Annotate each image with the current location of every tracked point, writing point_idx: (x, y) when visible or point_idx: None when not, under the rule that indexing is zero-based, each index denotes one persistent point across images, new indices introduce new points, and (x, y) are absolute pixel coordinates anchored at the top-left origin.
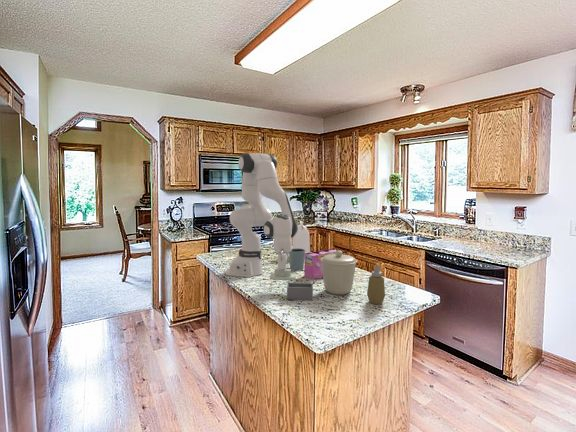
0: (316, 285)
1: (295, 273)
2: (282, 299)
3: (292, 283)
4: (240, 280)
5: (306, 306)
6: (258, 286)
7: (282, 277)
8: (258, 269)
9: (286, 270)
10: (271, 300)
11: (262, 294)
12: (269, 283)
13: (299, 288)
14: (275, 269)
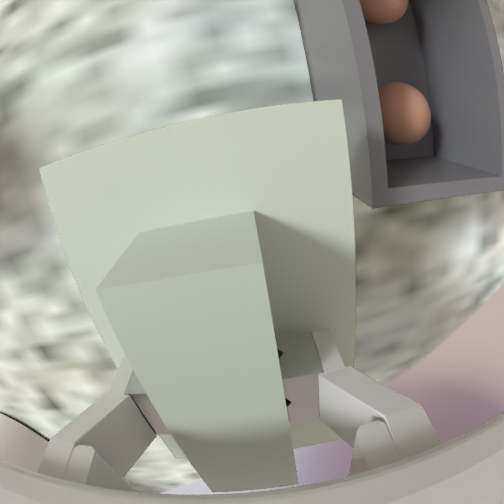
0: (17, 13)
1: (47, 169)
2: (432, 201)
3: (382, 138)
4: (138, 475)
5: (498, 33)
6: None
7: (353, 326)
8: (14, 447)
9: (271, 367)
10: (447, 271)
11: None
12: (98, 375)
13: (493, 55)
14: (243, 488)
